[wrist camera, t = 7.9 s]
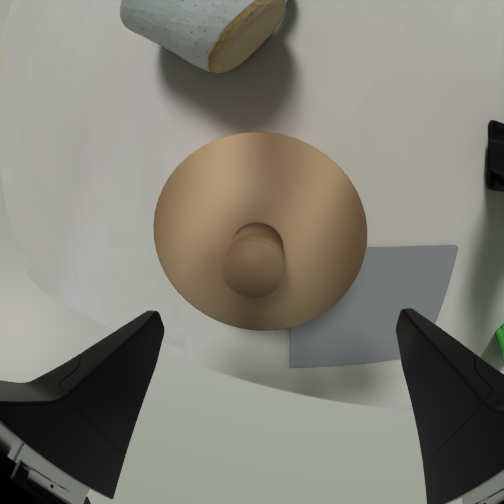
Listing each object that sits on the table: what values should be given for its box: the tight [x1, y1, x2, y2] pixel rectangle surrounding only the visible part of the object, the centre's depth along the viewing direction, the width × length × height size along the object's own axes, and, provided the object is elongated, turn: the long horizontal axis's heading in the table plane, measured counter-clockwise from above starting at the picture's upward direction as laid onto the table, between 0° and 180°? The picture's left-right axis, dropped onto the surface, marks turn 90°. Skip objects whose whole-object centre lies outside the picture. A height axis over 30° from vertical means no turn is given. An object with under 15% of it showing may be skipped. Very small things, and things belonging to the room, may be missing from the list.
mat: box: [290, 245, 458, 368], centre depth 24 cm, size 16×14×1 cm
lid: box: [154, 132, 367, 330], centre depth 15 cm, size 13×13×4 cm
